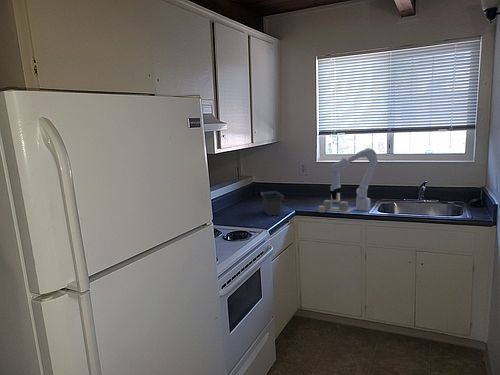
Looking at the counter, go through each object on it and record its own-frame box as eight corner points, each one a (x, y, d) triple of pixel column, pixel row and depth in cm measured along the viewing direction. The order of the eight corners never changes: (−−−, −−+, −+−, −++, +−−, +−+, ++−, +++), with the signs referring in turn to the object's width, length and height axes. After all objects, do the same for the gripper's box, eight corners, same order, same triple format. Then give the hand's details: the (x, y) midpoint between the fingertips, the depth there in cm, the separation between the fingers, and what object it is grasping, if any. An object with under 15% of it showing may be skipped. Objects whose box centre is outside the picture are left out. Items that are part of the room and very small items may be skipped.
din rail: (352, 210, 269) (352, 201, 268) (348, 212, 263) (348, 203, 262) (324, 207, 282) (323, 198, 281) (319, 209, 276) (319, 201, 275)
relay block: (325, 211, 271) (325, 205, 270) (324, 212, 267) (323, 207, 266) (319, 210, 272) (319, 205, 272) (318, 212, 269) (318, 206, 268)
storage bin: (259, 210, 282) (259, 191, 279) (279, 208, 284) (279, 190, 282) (266, 217, 261) (265, 197, 258) (287, 215, 264) (287, 195, 261)
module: (340, 200, 272) (339, 192, 271) (337, 202, 268) (337, 193, 267) (333, 200, 275) (333, 192, 274) (331, 201, 271) (330, 193, 270)
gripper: (334, 178, 277) (334, 196, 279) (326, 181, 265) (326, 200, 268) (343, 179, 273) (343, 197, 275) (335, 182, 261) (335, 201, 264)
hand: (335, 198), depth 271 cm, fingers closed on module, 4 cm apart
